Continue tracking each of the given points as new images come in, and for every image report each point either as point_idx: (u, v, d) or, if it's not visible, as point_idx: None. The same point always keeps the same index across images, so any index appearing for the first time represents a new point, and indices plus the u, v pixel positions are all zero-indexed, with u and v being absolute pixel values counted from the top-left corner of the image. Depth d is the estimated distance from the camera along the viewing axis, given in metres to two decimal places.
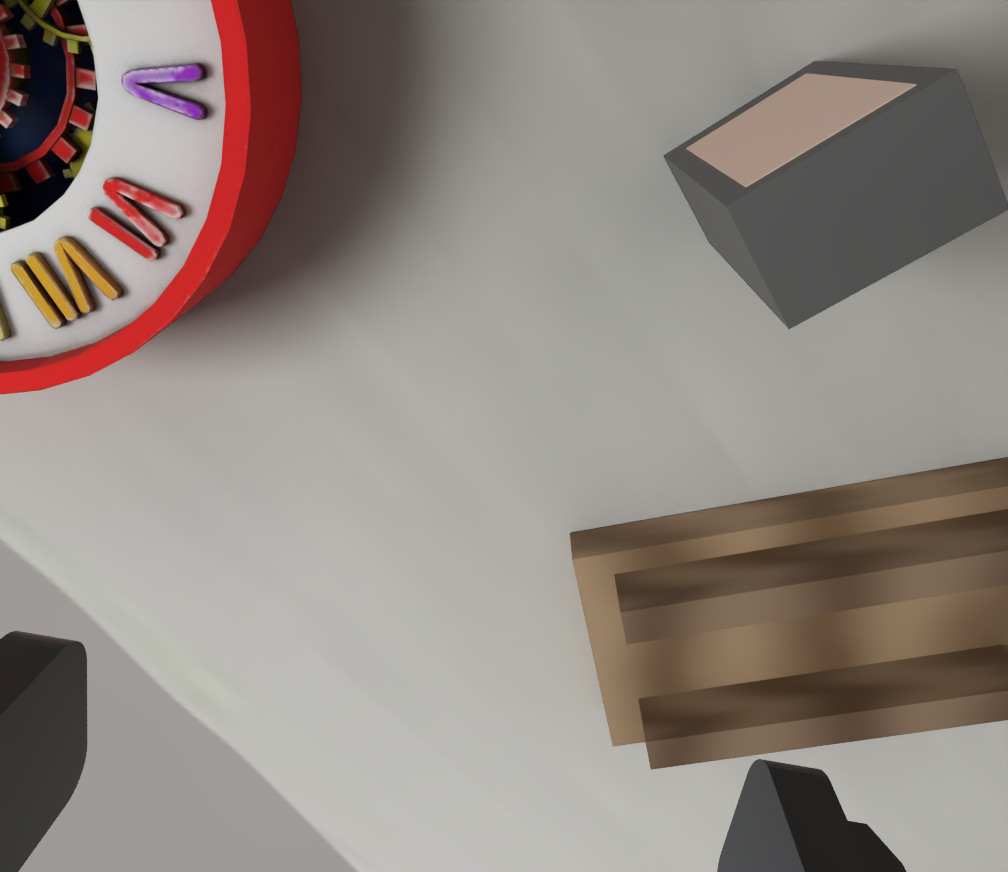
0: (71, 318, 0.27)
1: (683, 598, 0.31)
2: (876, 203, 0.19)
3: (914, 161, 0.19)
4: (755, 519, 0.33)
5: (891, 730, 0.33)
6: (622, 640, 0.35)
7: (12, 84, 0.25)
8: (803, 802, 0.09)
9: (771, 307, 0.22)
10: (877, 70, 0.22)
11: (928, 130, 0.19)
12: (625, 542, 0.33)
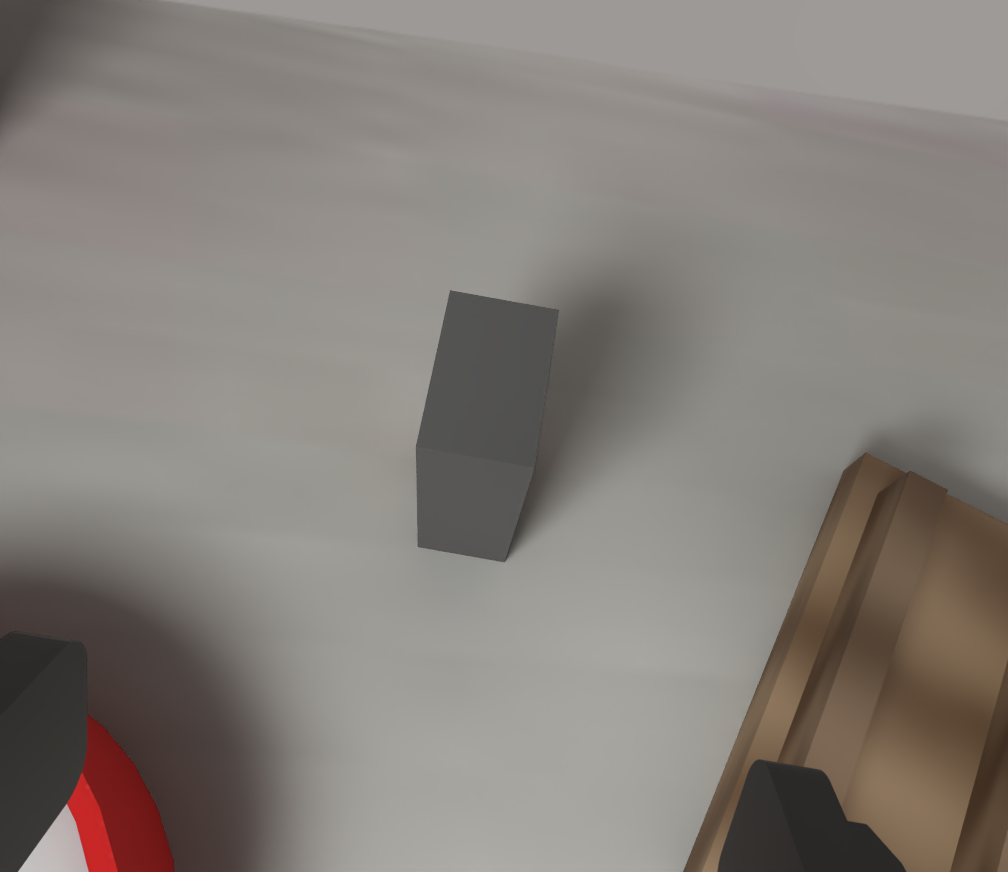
0: None
1: None
2: (492, 369, 0.26)
3: (484, 337, 0.26)
4: (767, 688, 0.31)
5: None
6: None
7: None
8: (803, 802, 0.09)
9: (523, 483, 0.26)
10: None
11: (472, 320, 0.26)
12: (715, 823, 0.29)
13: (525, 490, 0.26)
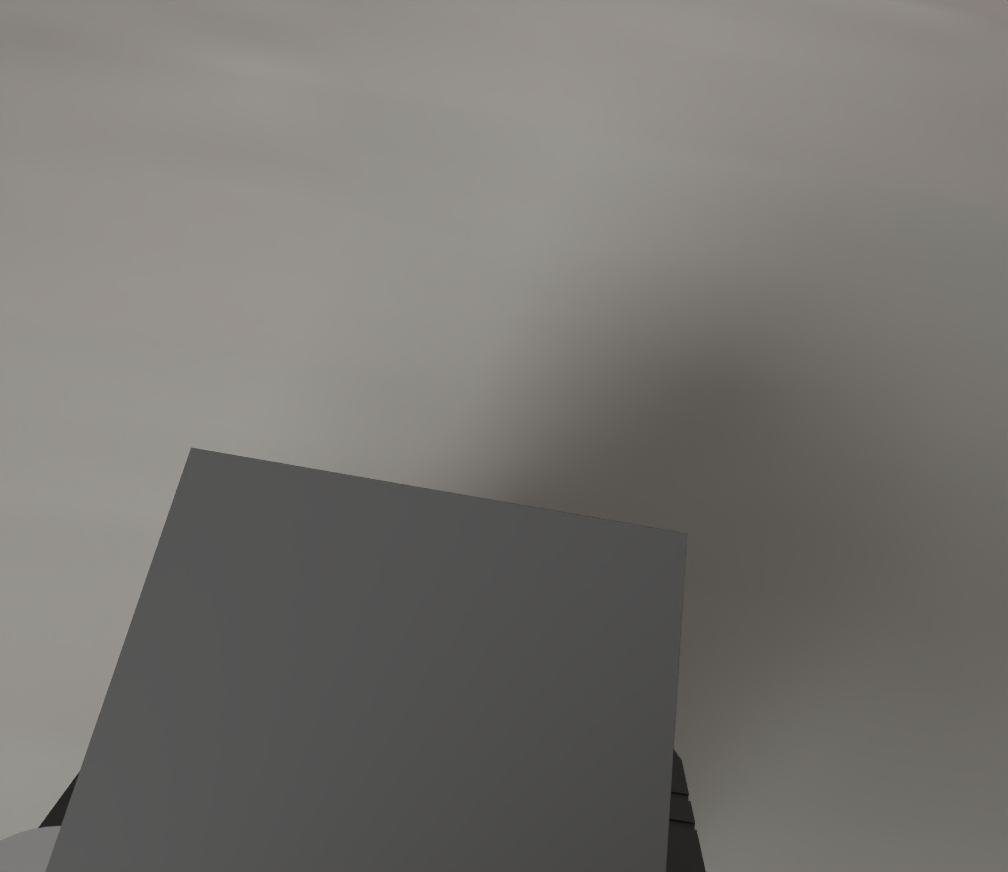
0: None
1: None
2: None
3: (332, 697, 0.05)
4: None
5: None
6: None
7: None
8: None
9: None
10: None
11: (279, 605, 0.05)
12: None
13: None
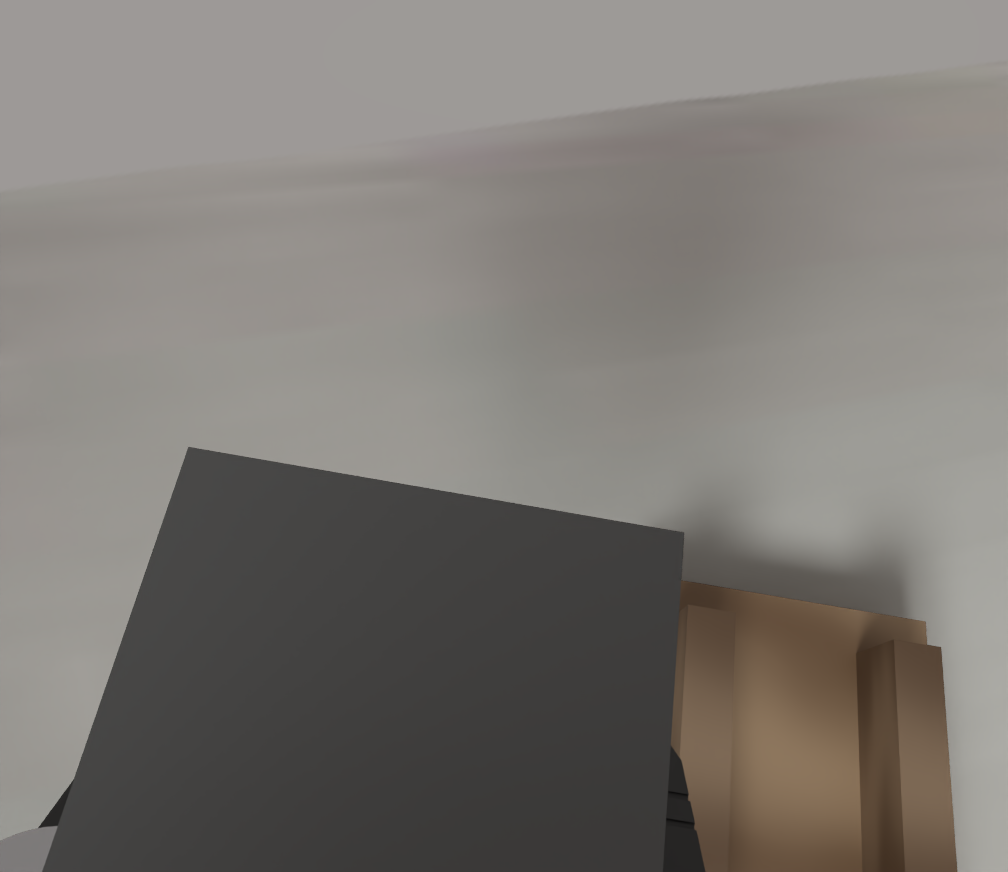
0: None
1: None
2: None
3: (330, 695, 0.05)
4: None
5: (944, 836, 0.24)
6: None
7: None
8: None
9: None
10: None
11: (276, 604, 0.05)
12: None
13: None
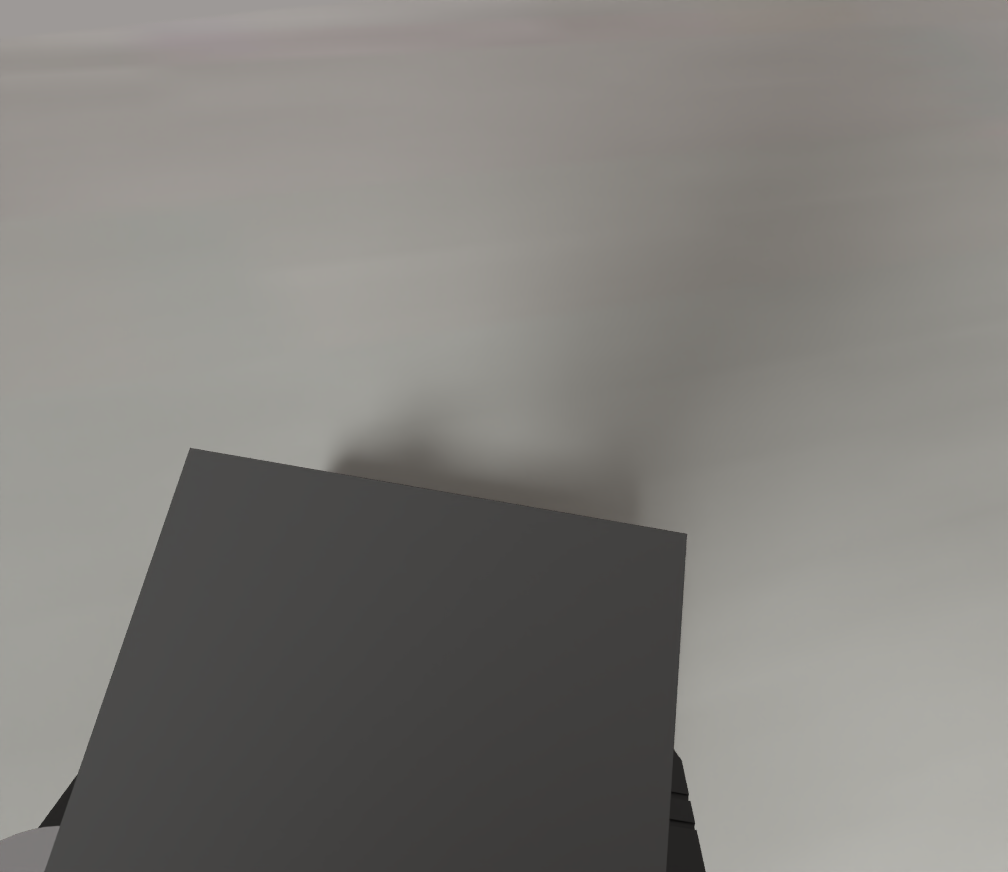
0: None
1: None
2: None
3: (332, 697, 0.05)
4: None
5: None
6: None
7: None
8: None
9: None
10: None
11: (278, 606, 0.05)
12: None
13: None
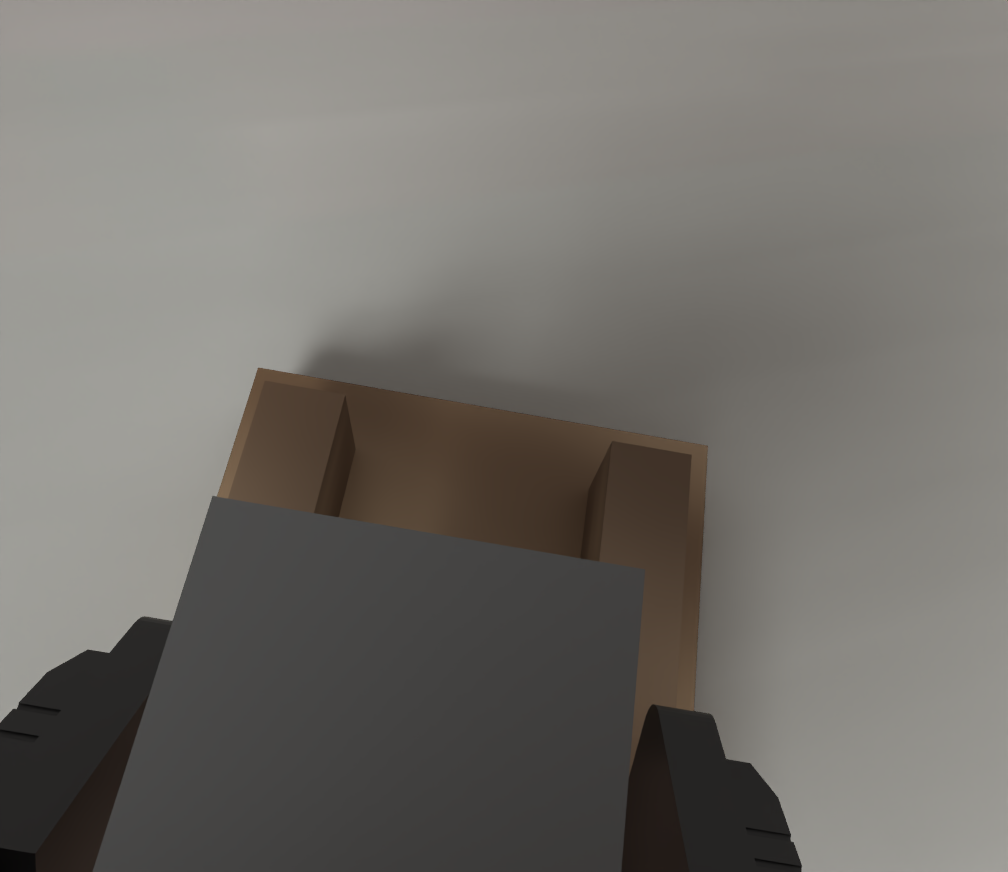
0: None
1: None
2: None
3: (337, 714, 0.06)
4: None
5: None
6: None
7: None
8: (686, 740, 0.09)
9: None
10: None
11: (290, 634, 0.06)
12: None
13: None
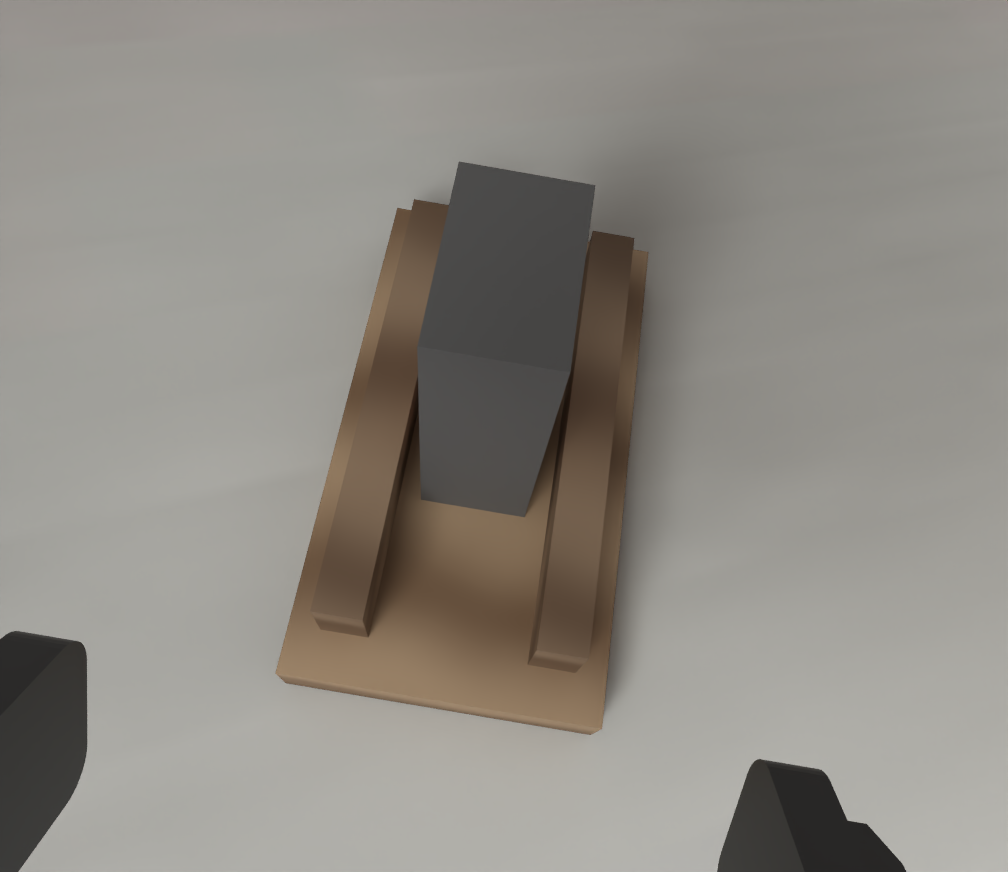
0: None
1: (331, 533, 0.25)
2: (513, 254, 0.20)
3: (502, 216, 0.21)
4: None
5: (611, 366, 0.28)
6: (425, 654, 0.26)
7: None
8: (803, 802, 0.09)
9: (553, 398, 0.20)
10: None
11: (487, 197, 0.21)
12: None
13: (555, 409, 0.21)
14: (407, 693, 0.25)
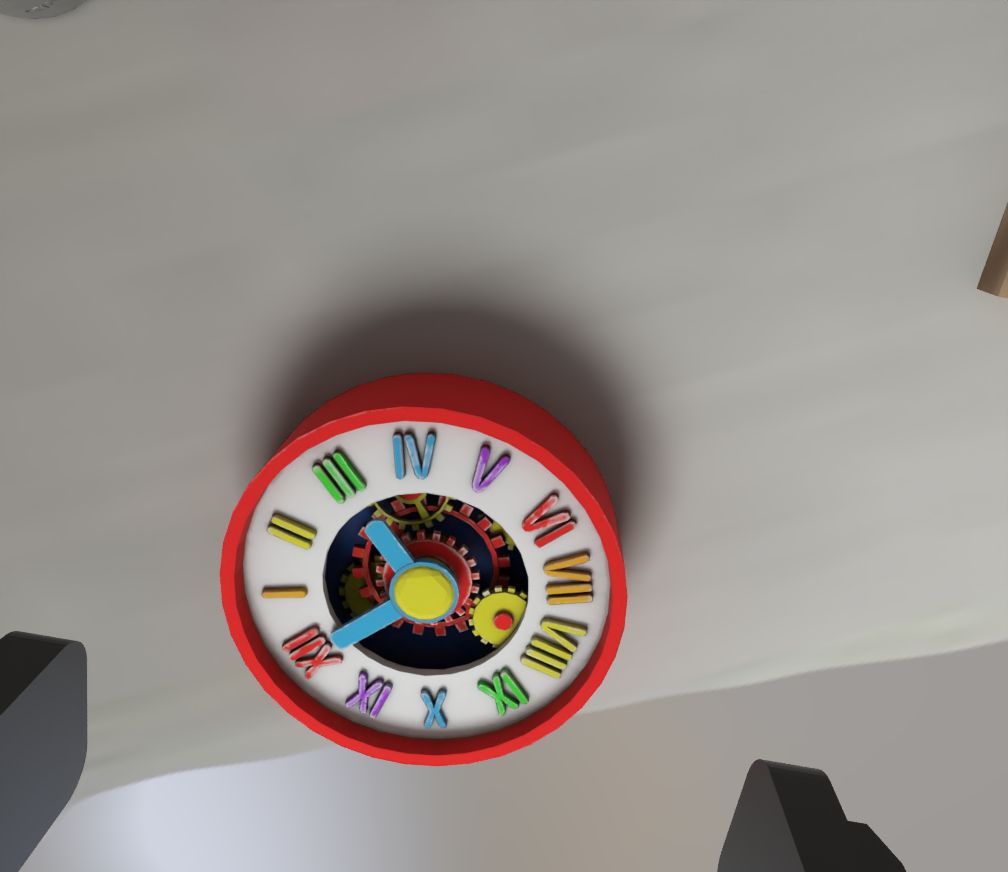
0: (590, 588, 0.41)
1: None
2: None
3: None
4: None
5: None
6: None
7: (455, 548, 0.42)
8: (803, 802, 0.09)
9: None
10: None
11: None
12: None
13: None
14: None
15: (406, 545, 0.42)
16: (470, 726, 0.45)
